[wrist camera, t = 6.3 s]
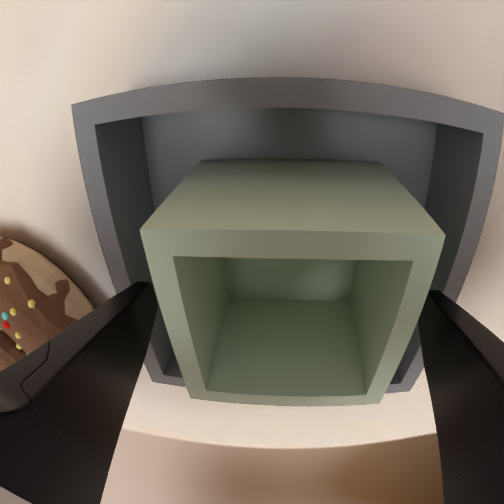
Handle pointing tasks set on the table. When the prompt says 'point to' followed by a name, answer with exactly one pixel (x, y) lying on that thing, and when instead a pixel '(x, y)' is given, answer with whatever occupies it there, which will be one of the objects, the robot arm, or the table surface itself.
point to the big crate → (284, 146)
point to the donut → (33, 301)
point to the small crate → (290, 278)
